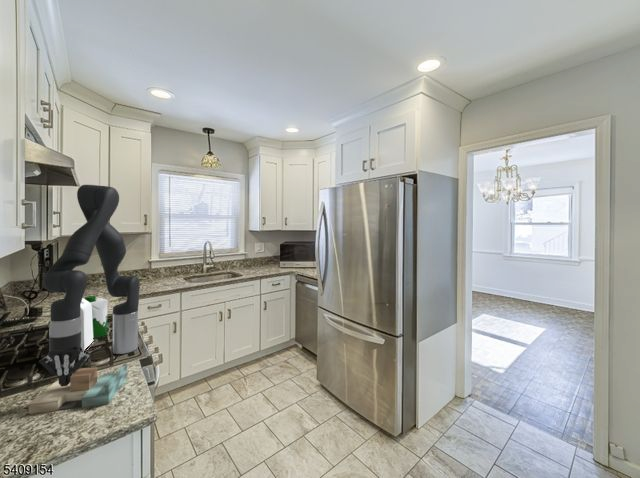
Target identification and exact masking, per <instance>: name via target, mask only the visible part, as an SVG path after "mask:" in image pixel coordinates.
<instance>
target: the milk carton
mask: <svg viewBox="0 0 640 478" xmlns="http://www.w3.org/2000/svg"><path fill="white" fill-rule="evenodd" d="M84 299H85V300H87V301H88V302H90V303H91V305H92V320H93V338H94V339H97V338H101V336H102V337H105V336H107V335H108V305H109V304H108V303H109V300H108V299H106V298H104V297H97V298H96V295H92V296H91V295H90V296H85V297H84ZM106 334H107V335H106ZM104 335H105V336H104Z"/></svg>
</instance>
